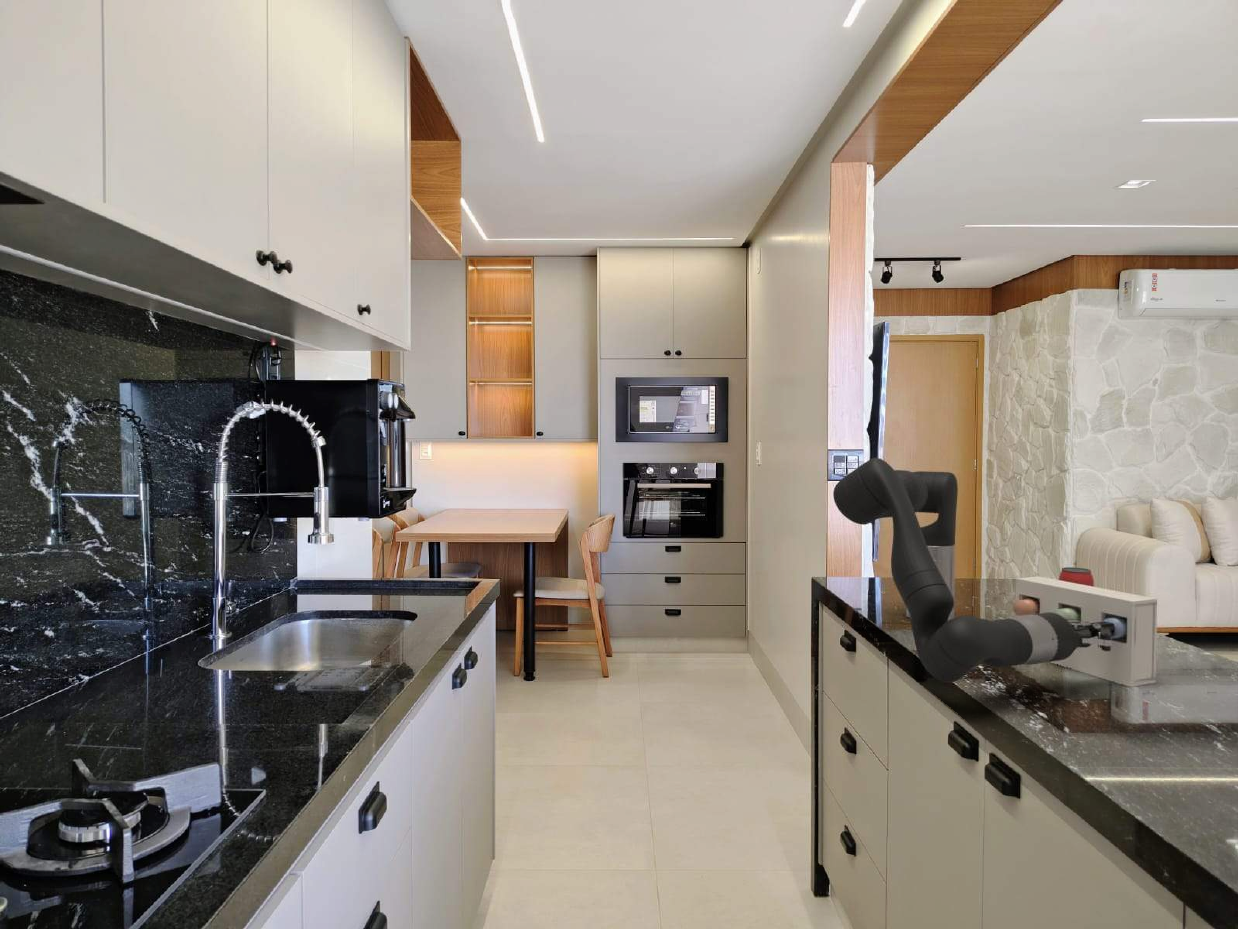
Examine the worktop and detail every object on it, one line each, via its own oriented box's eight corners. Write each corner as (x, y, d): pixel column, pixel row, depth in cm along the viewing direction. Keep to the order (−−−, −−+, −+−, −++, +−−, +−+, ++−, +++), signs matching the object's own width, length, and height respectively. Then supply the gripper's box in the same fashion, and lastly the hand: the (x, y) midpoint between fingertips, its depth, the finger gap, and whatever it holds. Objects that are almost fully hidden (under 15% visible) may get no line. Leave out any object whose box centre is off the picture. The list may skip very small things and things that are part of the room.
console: (1014, 651, 142) (1015, 578, 142) (1037, 648, 144) (1038, 576, 144) (1130, 687, 122) (1132, 601, 121) (1155, 682, 124) (1157, 598, 123)
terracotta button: (1013, 615, 140) (1013, 598, 140) (1027, 614, 141) (1027, 597, 141) (1028, 619, 137) (1028, 602, 137) (1042, 617, 138) (1042, 600, 138)
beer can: (1060, 625, 162) (1061, 570, 162) (1055, 619, 168) (1056, 566, 168) (1096, 628, 159) (1097, 572, 159) (1089, 621, 166) (1090, 567, 165)
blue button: (1100, 635, 125) (1100, 616, 125) (1115, 633, 127) (1115, 615, 127) (1119, 640, 122) (1119, 621, 122) (1134, 638, 124) (1134, 619, 124)
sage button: (1051, 625, 132) (1052, 607, 132) (1066, 623, 134) (1066, 605, 134) (1068, 629, 129) (1068, 611, 129) (1083, 627, 131) (1083, 609, 131)
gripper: (1074, 624, 111) (1151, 614, 118) (999, 606, 123) (1073, 598, 130) (1073, 674, 111) (1150, 662, 118) (998, 651, 124) (1072, 641, 130)
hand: (1109, 628), depth 124 cm, fingers closed
